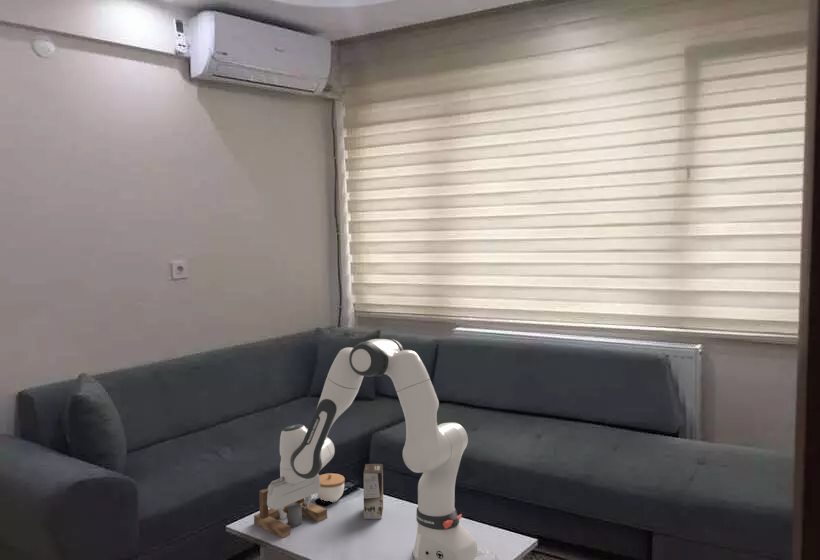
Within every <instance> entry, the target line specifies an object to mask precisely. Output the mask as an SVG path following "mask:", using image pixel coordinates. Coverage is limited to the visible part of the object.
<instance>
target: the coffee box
mask: <svg viewBox="0 0 820 560" xmlns="http://www.w3.org/2000/svg"><path fill="white" fill-rule="evenodd" d="M383 510H384V464H383V463H370V464H369V463H365V464H364V469H363V519H364V520H365V519H368V520H370V519H373V520H374V519H375V520H381V519H382V517H383Z"/></svg>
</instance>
